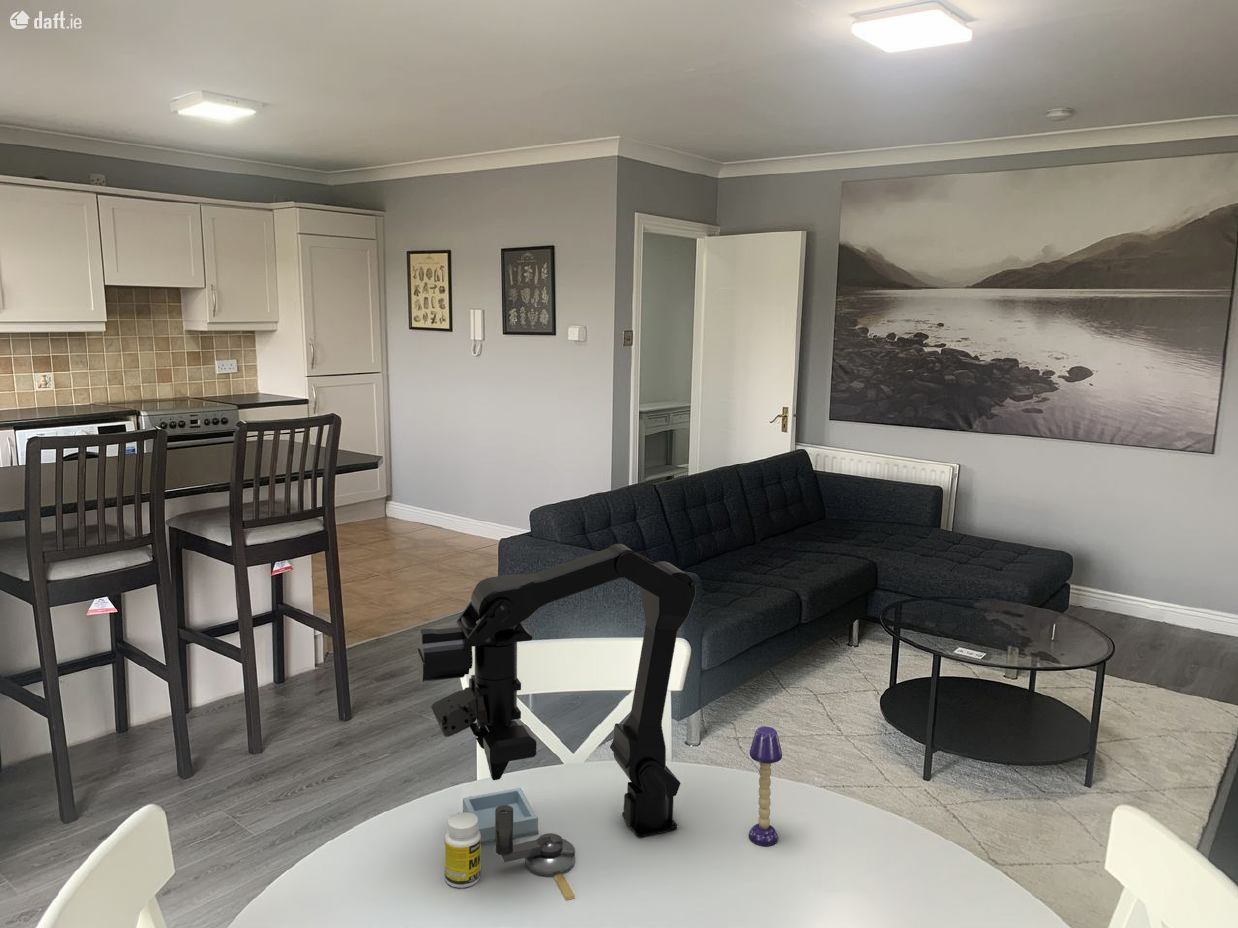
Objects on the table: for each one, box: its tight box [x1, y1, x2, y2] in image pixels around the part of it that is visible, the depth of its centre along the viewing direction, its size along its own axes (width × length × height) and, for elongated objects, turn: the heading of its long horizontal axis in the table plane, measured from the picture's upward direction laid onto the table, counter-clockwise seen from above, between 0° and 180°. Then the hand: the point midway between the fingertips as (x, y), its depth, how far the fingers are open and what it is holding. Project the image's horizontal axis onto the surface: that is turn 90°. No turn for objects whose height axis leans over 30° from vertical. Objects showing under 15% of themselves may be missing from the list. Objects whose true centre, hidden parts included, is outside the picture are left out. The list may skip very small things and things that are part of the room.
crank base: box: [523, 838, 576, 901], centre depth 122 cm, size 7×12×2 cm, turn 22°
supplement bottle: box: [444, 811, 482, 889], centre depth 120 cm, size 5×5×8 cm
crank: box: [494, 805, 564, 863], centre depth 123 cm, size 10×4×7 cm, turn 112°
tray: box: [462, 787, 539, 846], centre depth 133 cm, size 9×9×2 cm
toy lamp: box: [748, 725, 783, 847], centre depth 131 cm, size 5×5×17 cm
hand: (495, 778), depth 125 cm, fingers closed
